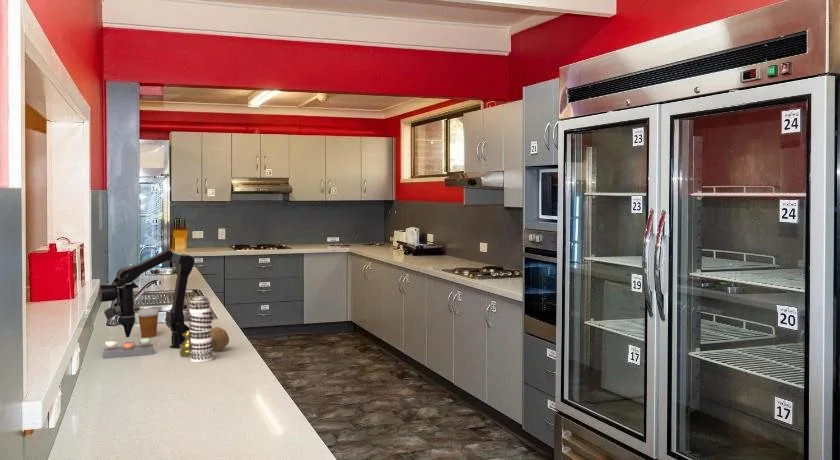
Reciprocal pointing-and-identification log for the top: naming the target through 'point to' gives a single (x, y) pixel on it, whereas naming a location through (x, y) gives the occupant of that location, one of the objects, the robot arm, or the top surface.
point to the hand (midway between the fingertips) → (127, 337)
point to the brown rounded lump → (219, 338)
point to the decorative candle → (200, 329)
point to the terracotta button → (128, 345)
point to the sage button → (145, 341)
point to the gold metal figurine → (186, 345)
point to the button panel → (128, 351)
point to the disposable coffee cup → (148, 322)
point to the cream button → (111, 343)
